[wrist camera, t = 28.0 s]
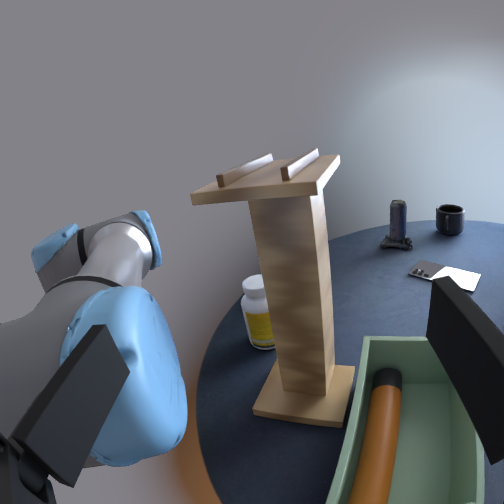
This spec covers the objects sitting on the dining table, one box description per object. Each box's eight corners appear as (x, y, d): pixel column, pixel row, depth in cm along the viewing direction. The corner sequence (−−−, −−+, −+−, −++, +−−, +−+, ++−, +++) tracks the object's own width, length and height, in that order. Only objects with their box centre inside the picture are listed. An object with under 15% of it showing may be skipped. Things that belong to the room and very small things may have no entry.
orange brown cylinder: (355, 518, 20) (338, 507, 20) (380, 390, 36) (368, 373, 36) (391, 515, 18) (376, 505, 18) (406, 381, 34) (395, 363, 33)
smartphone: (473, 291, 49) (408, 272, 61) (473, 293, 49) (408, 274, 61) (480, 274, 53) (420, 258, 65) (480, 277, 53) (420, 260, 65)
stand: (248, 426, 35) (176, 183, 24) (281, 357, 47) (245, 155, 35) (339, 441, 31) (329, 165, 19) (356, 363, 42) (347, 144, 30)
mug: (439, 224, 82) (439, 202, 79) (465, 229, 76) (466, 206, 73) (430, 238, 75) (430, 214, 72) (459, 243, 69) (461, 218, 66)
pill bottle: (290, 347, 49) (281, 287, 45) (251, 354, 49) (237, 296, 44) (283, 324, 55) (274, 268, 51) (248, 331, 55) (235, 276, 50)
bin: (322, 531, 20) (322, 510, 16) (361, 382, 39) (364, 335, 35) (448, 533, 14) (483, 508, 11) (451, 382, 33) (466, 335, 30)
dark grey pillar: (410, 239, 77) (410, 197, 72) (413, 251, 71) (413, 205, 66) (379, 239, 81) (378, 197, 76) (379, 251, 74) (378, 206, 70)
